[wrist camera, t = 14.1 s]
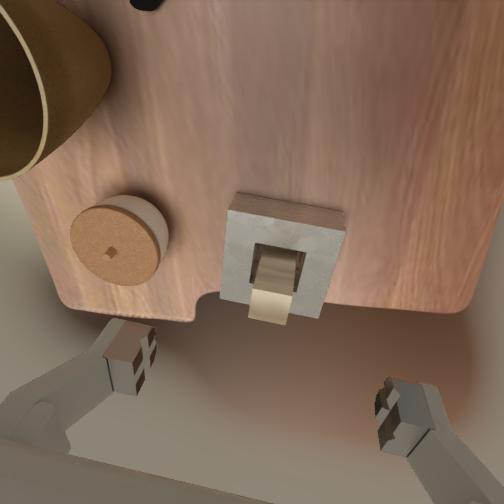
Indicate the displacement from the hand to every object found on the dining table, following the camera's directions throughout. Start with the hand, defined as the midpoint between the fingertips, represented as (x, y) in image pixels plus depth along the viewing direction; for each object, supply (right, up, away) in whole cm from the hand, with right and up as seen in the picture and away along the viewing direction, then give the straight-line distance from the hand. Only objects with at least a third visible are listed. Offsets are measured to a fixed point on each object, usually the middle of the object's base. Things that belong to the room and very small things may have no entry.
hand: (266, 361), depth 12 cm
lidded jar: (-15, +8, +34) cm, 38 cm away
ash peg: (+3, +5, +33) cm, 33 cm away
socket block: (+3, +5, +33) cm, 33 cm away
